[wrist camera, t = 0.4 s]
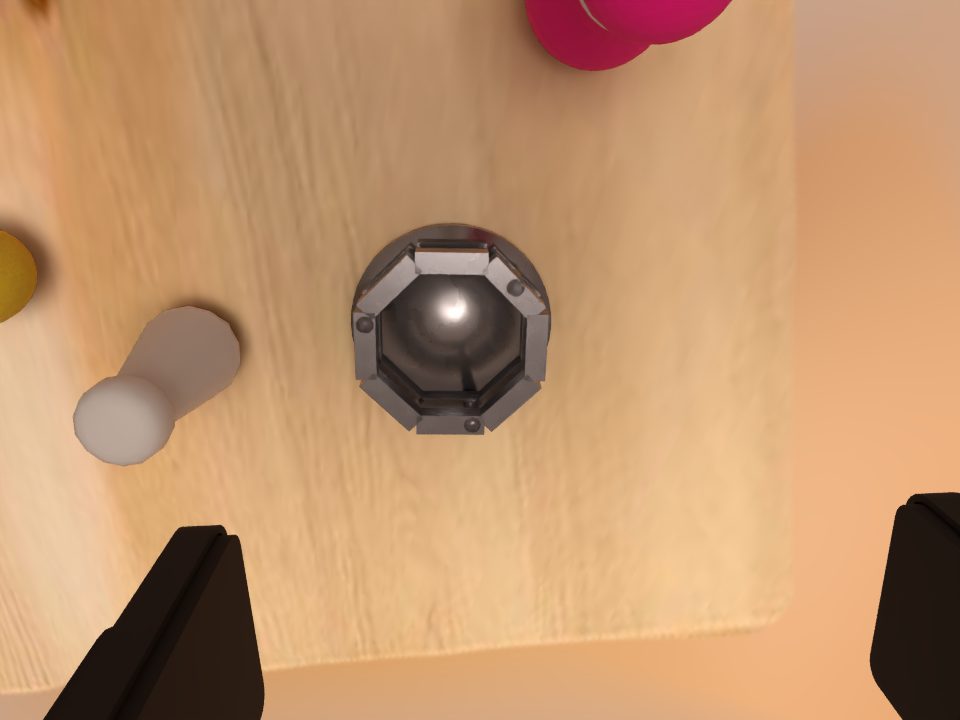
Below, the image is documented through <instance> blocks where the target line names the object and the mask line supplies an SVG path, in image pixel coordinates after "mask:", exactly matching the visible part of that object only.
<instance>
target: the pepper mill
mask: <svg viewBox="0 0 960 720" xmlns="http://www.w3.org/2000/svg"><path fill="white" fill-rule="evenodd" d="M731 1H732V0H525V5H526V11H527V15H528V19H529V22H530V24H531V27H532V29H533V31H534V33H535V35H536V37H537V38H538V40H539V42H540V43H541V44H542V45H543V46H544V48H545V49H546V50H547V51H548V52H549V53H550V54H551V55H553V56H554V57H555V58H557V59H558V60H559V61H561V62H563V63H565V64H567V65H569V66H571V67H574V68H577V69H581V70H589V71H600V70H607V69H612V68H615V67H618V66H620V65H623V64H625V63H627V62H628V61H630V60H632V59H634V58H635V57H636V56H638V55H639V54H641V53H642V52H643V51H645V50H646V49H647V48H648V47H649V46H650V45H651V44H666V43H672V42H676V41H678V40H681V39H684V38H686V37H689V36H691V35H693V34H695V33H697V32H698V31H700V30H701V29H703V28H704V27H705V26H707V25H708V24H710V23H711V22H712V21H713V20H714V19H716V18H717V17H718V16H719V15H720V14H721V13H722V12H723V11H724V9H725V8H726V7H727V6H728V4H729V3H730V2H731Z"/></svg>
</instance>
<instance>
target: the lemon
mask: <svg viewBox="0 0 960 720" xmlns="http://www.w3.org/2000/svg"><path fill="white" fill-rule="evenodd" d="M36 285H37V270H36V264H35V262H34V260H33V257H32V255H31V254H30V252H29V251H28V250H27V248H26V247H25V246H24V245H23V244H22V243H21V242H20V241H19V240H18V239H16V238H15V237H13V236H12V235H10V234H8V233H6V232H5V231H2V230H0V323H1V322H4V321H6V320H7V319H9V318H11V317H12V316H14V315H15V314H17V313H18V312H19V311H21V310H22V309H23V308H24V306H25V305H26V304H27V303H28V302H29V300H30V299H31V298H32V295H33V293H34V291H35V288H36Z"/></svg>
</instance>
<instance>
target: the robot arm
mask: <svg viewBox="0 0 960 720" xmlns="http://www.w3.org/2000/svg"><path fill="white" fill-rule="evenodd" d="M870 667H871V671H872V675H873V677H874V679H875V682H876V683H877V685H878V687H879V688H880V689H881V691H882V692H883V693H884V695H885V696H886V698H887V699H888V700H889V702H890V703H891V704H892V706H893V707H894V709H895V710H896V711H897V713H898V714H899V715H900V717H901V718H902V720H960V493H955V492H948V493H926V494H915V495H913V496H911V497H910V498H909V499H908V501H907V503H906V505H902V506H900V507H899V508H898V510H897V512H896V515H895V520H894V526H893V531H892V537H891V542H890V548H889V553H888V559H887V564H886V570H885V575H884V581H883V586H882V592H881V597H880V603H879V609H878V614H877V619H876V626H875V631H874V636H873V642H872V647H871V653H870ZM263 706H264V682H263V676H262V670H261V664H260V658H259V652H258V646H257V640H256V634H255V628H254V622H253V616H252V610H251V604H250V598H249V592H248V586H247V580H246V573H245V567H244V561H243V555H242V549H241V544H240V540H239V538H238V536H237V535H227V532H226V530H225V528H224V527H223V526H222V525H210V526H188V527H180V528H178V529H177V531H176V532H175V533H174V535H173V536H172V538H171V539H170V541H169V542H168V544H167V545H166V547H165V548H164V550H163V551H162V553H161V554H160V556H159V557H158V559H157V561H156V562H155V564H154V565H153V567H152V568H151V570H150V571H149V573H148V574H147V576H146V577H145V579H144V580H143V582H142V583H141V585H140V586H139V588H138V589H137V591H136V593H135V594H134V596H133V597H132V599H131V600H130V602H129V603H128V605H127V606H126V608H125V609H124V611H123V612H122V614H121V615H120V617H119V618H118V620H117V621H116V623H115V624H114V626H113V627H111V628H108V629H106V630H105V631H104V632H103V633H102V634H101V635H100V636H99V637H98V639H97V640H96V642H95V643H94V645H93V646H92V647H91V649H90V650H89V652H88V653H87V655H86V656H85V658H84V659H83V661H82V662H81V664H80V665H79V667H78V668H77V670H76V671H75V673H74V674H73V676H72V677H71V679H70V680H69V682H68V683H67V685H66V686H65V688H64V689H63V691H62V692H61V694H60V695H59V697H58V698H57V700H56V701H55V703H54V704H53V706H52V707H51V709H50V710H49V712H48V713H47V715H46V716H45V718H44V719H43V720H260V719H261V716H262V712H263Z"/></svg>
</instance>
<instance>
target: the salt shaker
mask: <svg viewBox="0 0 960 720" xmlns="http://www.w3.org/2000/svg"><path fill="white" fill-rule="evenodd" d="M239 366H240V347H239V342H238V340H237V338H236V337H235V335H234V333H233V331H232V330H231V328H230V324H229V322H227V321H225V320H223V319H221V318H219V317H218V316H216V315H215V314H214V313H212V312H211V311H207V310H203V309H200V308H196V307H192V306H185V307H180V308H175V309H169V310H166V311H163V312H162V313H161V314H159V315H158V316H157V317H155V318H154V319H152V320H151V321H150V322H148V323H147V325H146V326H145V328H144V330H143V332H142V333H141V335H140V337H139V338H138V340H137V342H136V344H135V345H134V347H133V349H132V351H131V352H130V354H129V356H128V357H127V359H126V361H125V363H124V364H123V366H122V368H121V370H120V371H119V373H118V375H117V376H114V377H108V378H105V379H103V380H102V381H100V382H99V383H97V384H96V385H94V386H93V387H92V388H90V389H89V390H88V391H86V392H85V393H84V394H83V395H82V397H81V398H80V400H79V402H78V404H77V407H76V409H75V412H74V415H73V422H74V430H75V435H76V436H77V438H78V439H79V441H80V442H81V444H82V445H83V446H84V448H85V449H86V451H88V452H89V453H91V454H92V455H94V456H95V457H97V458H98V459H100V460H101V461H103V462H106V463H110V464H115V465H120V466H128V465H134V464H140V463H143V462H144V461H146V460H147V459H149V458H150V457H151V456H153V455H154V454H156V453H157V452H158V451H160V450H161V449H162V448H163V447H164V446H165V444H166V443H167V441H168V439H169V437H170V435H171V433H172V431H173V429H174V427H175V421H177V420H178V419H180V418H181V417H183V416H184V415H186V414H187V413H189V412H191V411H192V410H194V409H195V408H197V407H198V406H200V405H201V404H203V403H205V402H206V401H208V400H209V399H211V398H212V397H214V396H215V395H217V394H218V393H219V392H221V391H222V390H224V389H225V388H226V387H228V386H229V385H230V384H231V383H232V381H233V379H234V376H235V374H236V372H237V370H238V368H239Z"/></svg>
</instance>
